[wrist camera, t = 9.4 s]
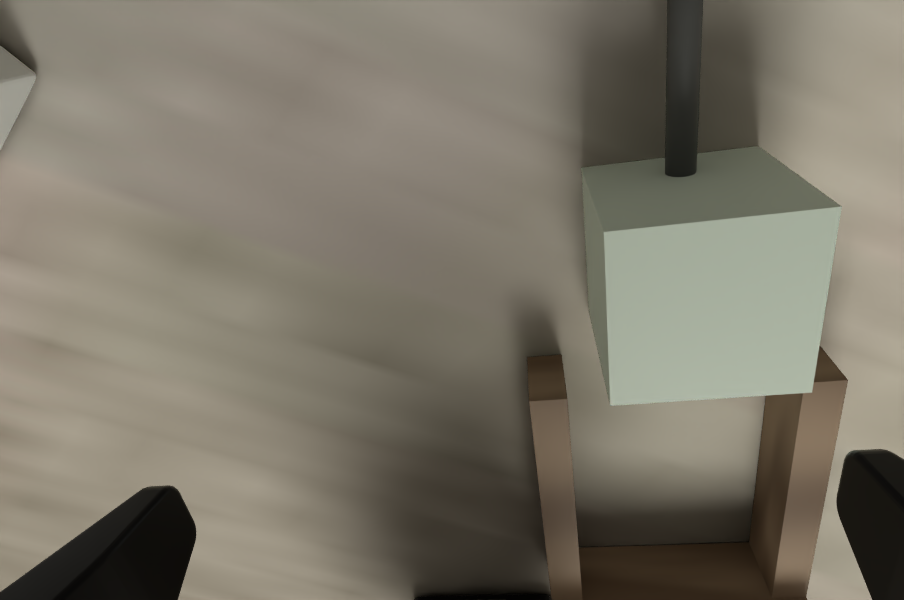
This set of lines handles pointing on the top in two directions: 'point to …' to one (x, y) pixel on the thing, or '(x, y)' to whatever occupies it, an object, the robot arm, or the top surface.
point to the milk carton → (12, 90)
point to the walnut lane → (697, 565)
